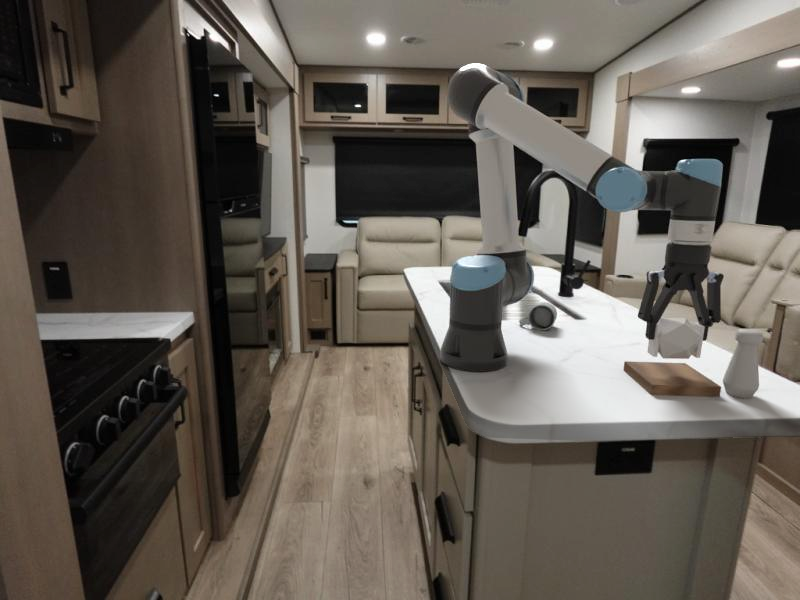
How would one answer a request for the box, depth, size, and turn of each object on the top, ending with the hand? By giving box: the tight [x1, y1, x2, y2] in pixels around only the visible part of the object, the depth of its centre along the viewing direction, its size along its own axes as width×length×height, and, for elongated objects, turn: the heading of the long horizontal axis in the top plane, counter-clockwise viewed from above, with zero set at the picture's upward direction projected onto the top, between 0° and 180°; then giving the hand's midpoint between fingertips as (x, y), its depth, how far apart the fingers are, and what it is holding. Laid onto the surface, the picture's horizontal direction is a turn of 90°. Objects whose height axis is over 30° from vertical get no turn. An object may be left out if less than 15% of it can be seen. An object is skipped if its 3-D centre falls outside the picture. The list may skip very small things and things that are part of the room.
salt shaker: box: [722, 328, 764, 399], centre depth 93 cm, size 6×6×13 cm
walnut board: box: [623, 361, 722, 398], centre depth 99 cm, size 13×13×2 cm
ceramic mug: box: [518, 301, 558, 331], centre depth 139 cm, size 10×8×7 cm
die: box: [647, 317, 702, 360], centre depth 98 cm, size 8×9×10 cm
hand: (673, 354), depth 98 cm, fingers closed on die, 8 cm apart
